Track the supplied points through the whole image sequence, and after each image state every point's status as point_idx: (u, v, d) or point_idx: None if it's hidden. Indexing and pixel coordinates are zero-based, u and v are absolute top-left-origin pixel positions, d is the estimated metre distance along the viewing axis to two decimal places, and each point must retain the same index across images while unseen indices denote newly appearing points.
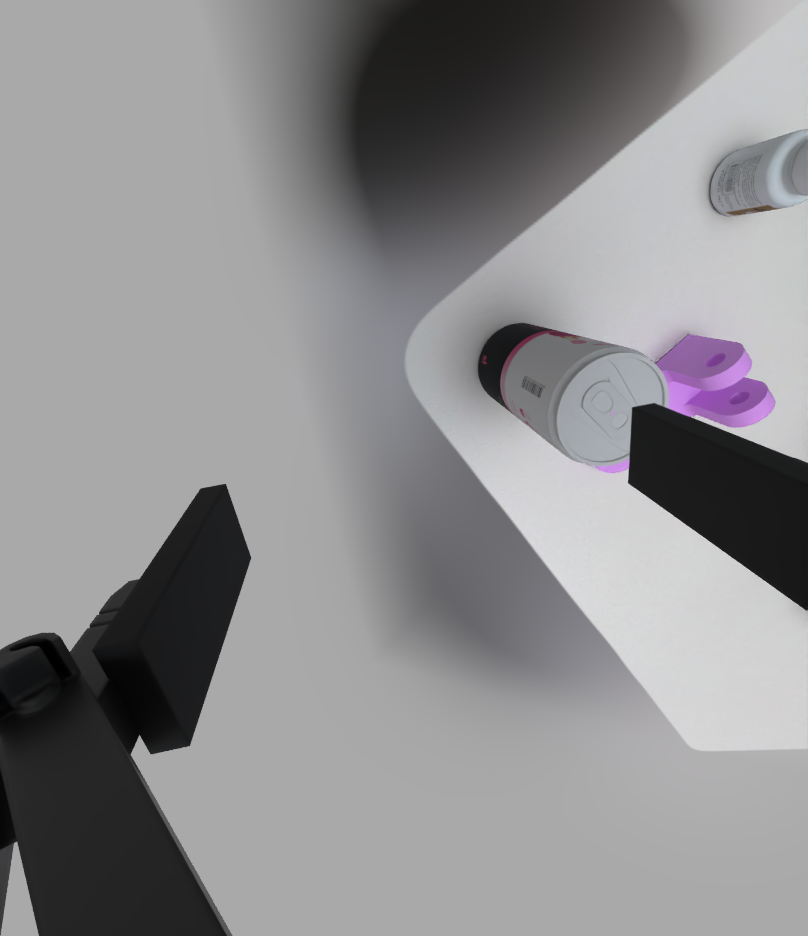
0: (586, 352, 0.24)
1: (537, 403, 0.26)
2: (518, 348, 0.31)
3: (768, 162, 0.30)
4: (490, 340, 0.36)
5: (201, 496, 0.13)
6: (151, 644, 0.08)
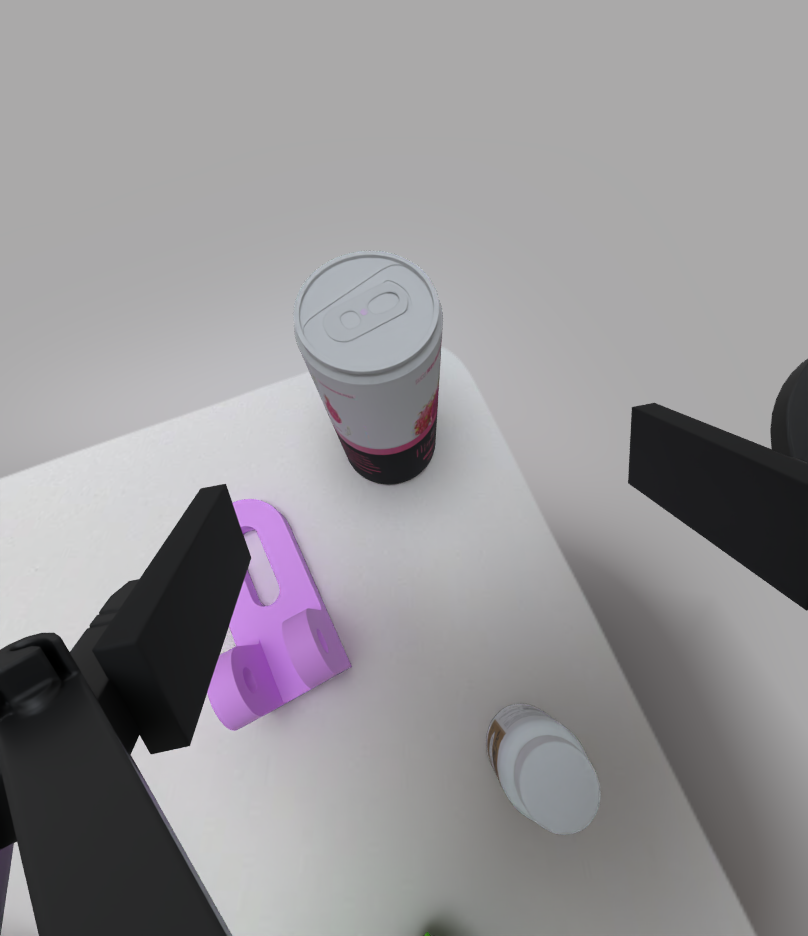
0: None
1: None
2: None
3: (558, 723, 0.23)
4: None
5: (201, 496, 0.13)
6: (151, 644, 0.08)
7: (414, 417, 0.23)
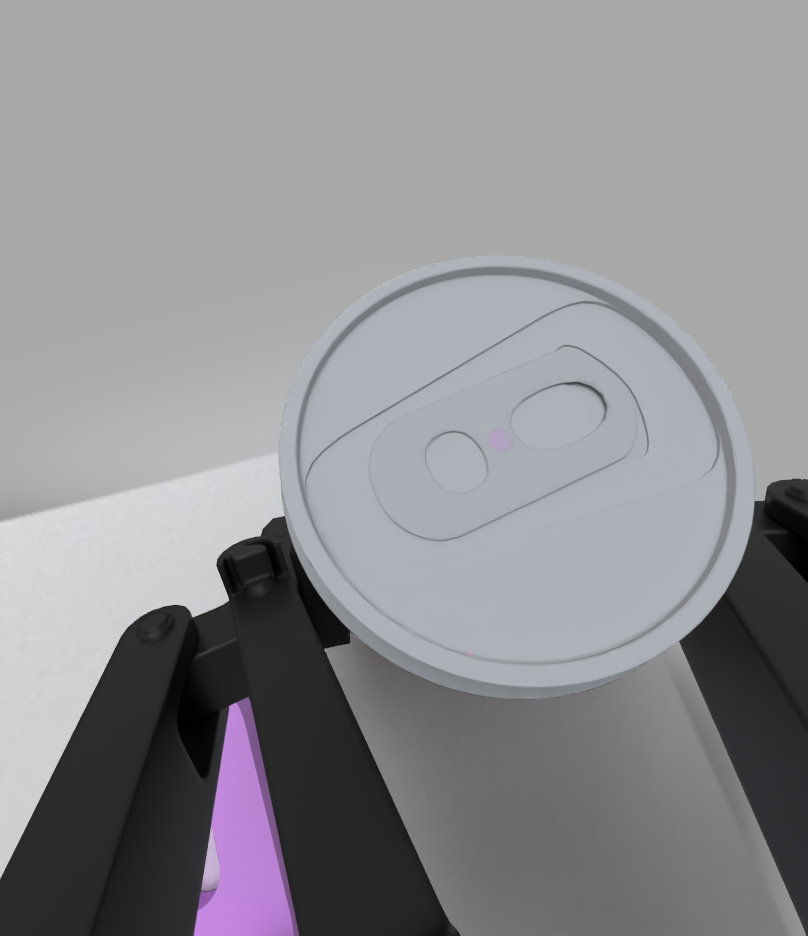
0: None
1: None
2: None
3: None
4: None
5: None
6: None
7: None
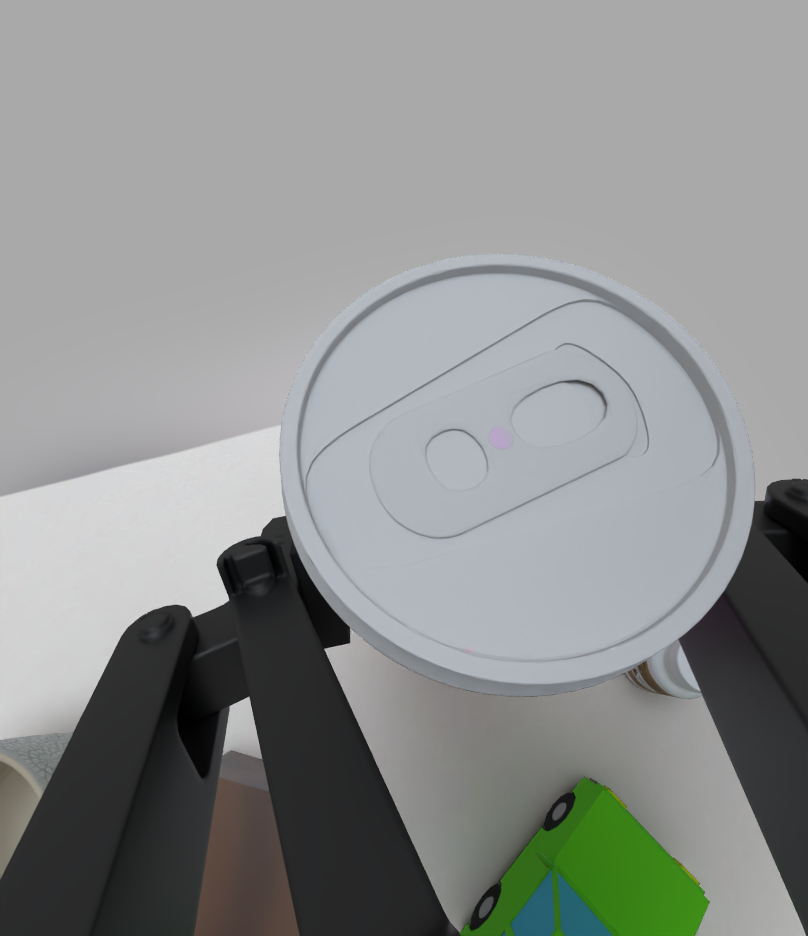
0: None
1: None
2: None
3: None
4: None
5: None
6: None
7: None
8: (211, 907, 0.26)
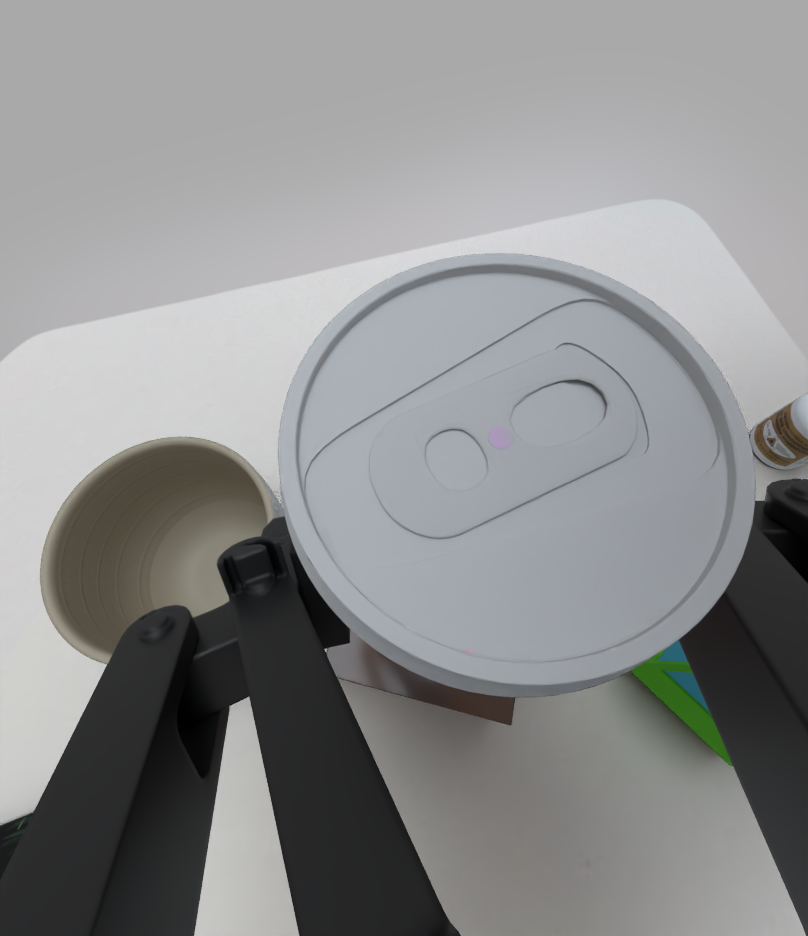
0: None
1: None
2: None
3: None
4: None
5: None
6: None
7: None
8: None
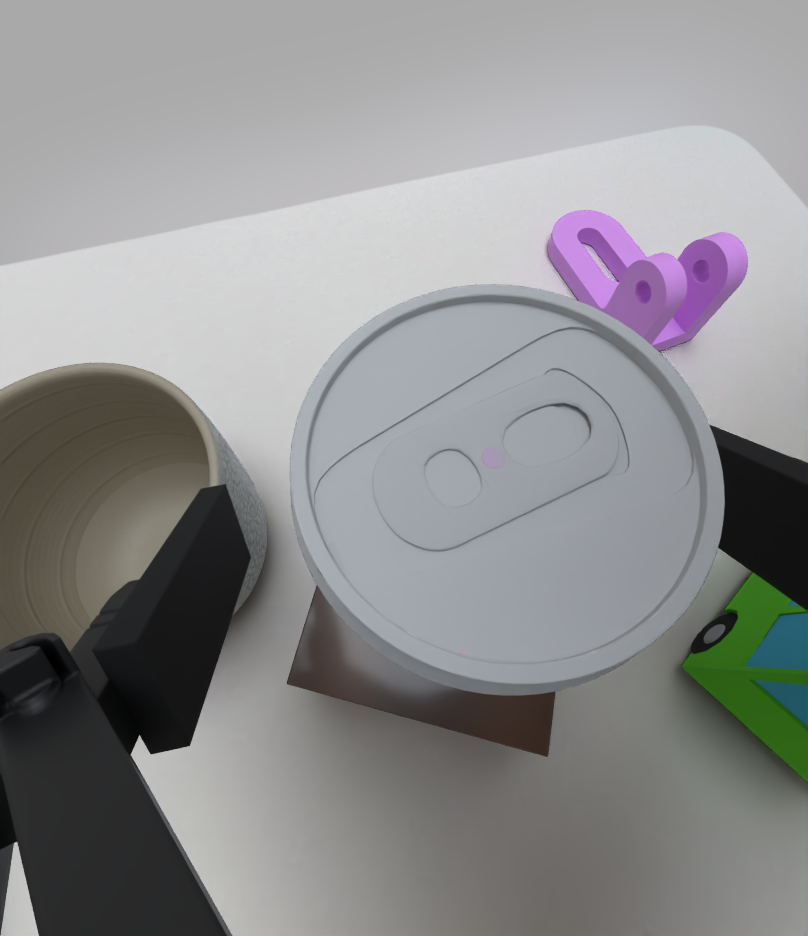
0: None
1: None
2: None
3: None
4: None
5: (201, 497, 0.13)
6: (151, 644, 0.08)
7: None
8: None
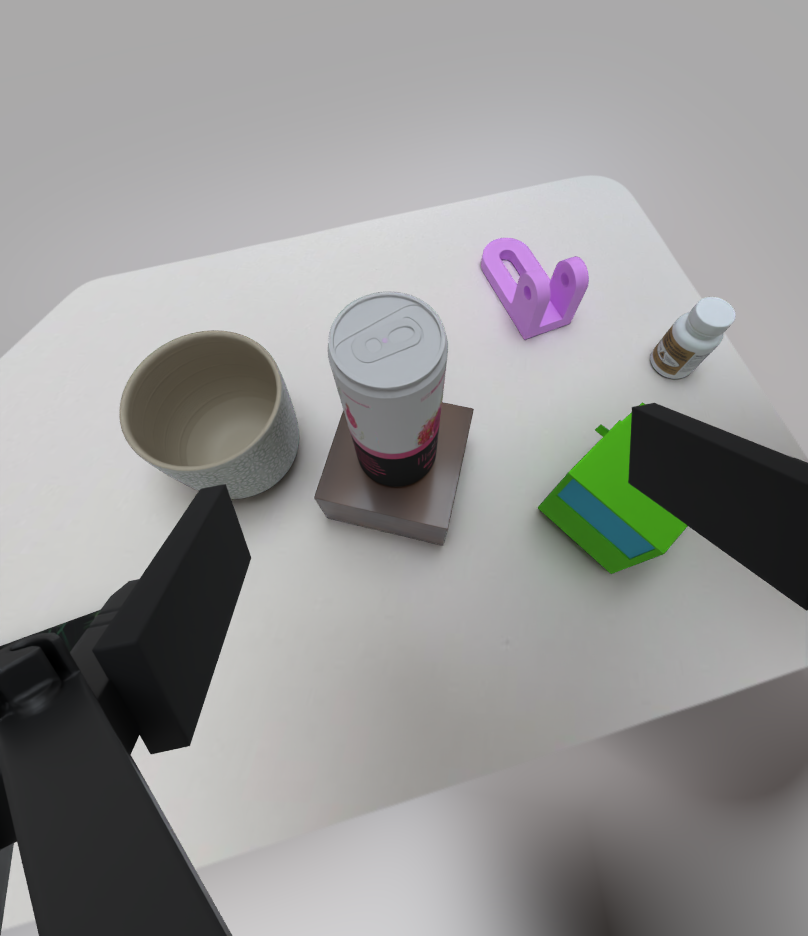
0: None
1: None
2: None
3: None
4: None
5: (201, 497, 0.13)
6: (151, 644, 0.08)
7: (418, 429, 0.28)
8: None
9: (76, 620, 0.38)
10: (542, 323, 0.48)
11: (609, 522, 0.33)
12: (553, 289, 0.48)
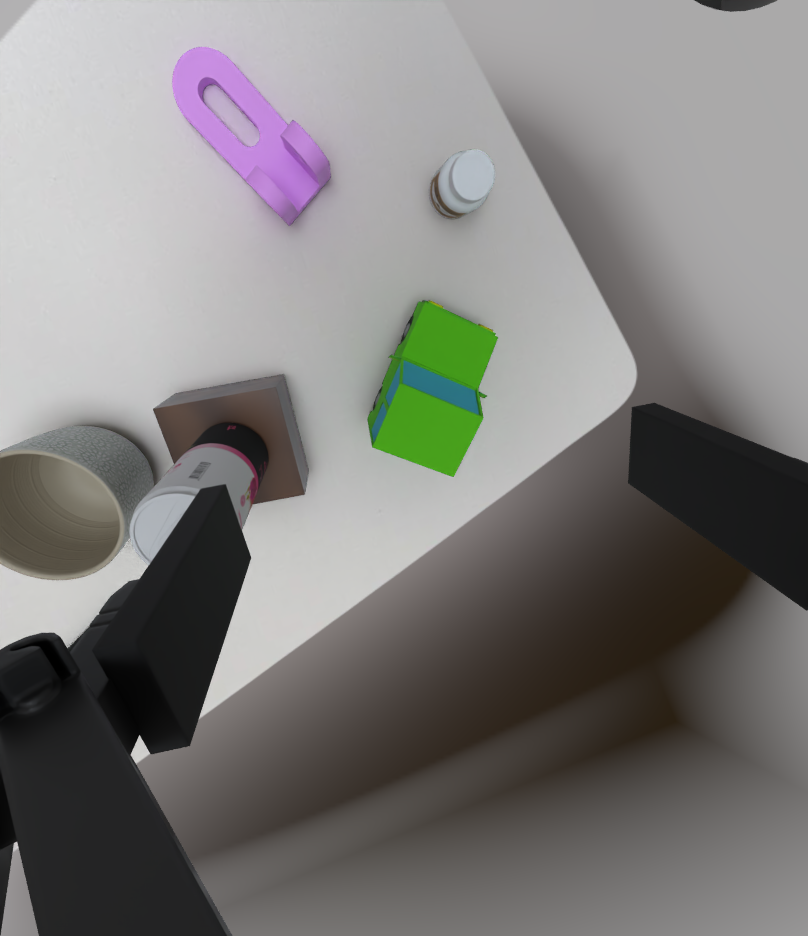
0: None
1: (183, 476, 0.30)
2: (239, 455, 0.36)
3: None
4: (250, 430, 0.41)
5: (201, 497, 0.13)
6: (151, 644, 0.08)
7: None
8: None
9: None
10: (299, 204, 0.40)
11: None
12: (292, 154, 0.37)
